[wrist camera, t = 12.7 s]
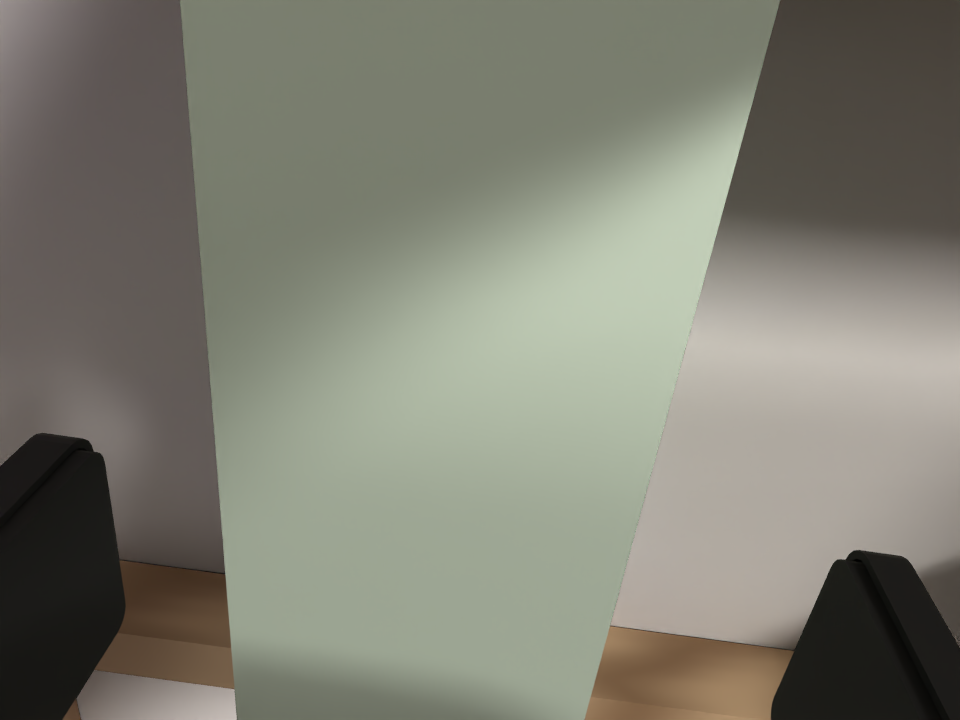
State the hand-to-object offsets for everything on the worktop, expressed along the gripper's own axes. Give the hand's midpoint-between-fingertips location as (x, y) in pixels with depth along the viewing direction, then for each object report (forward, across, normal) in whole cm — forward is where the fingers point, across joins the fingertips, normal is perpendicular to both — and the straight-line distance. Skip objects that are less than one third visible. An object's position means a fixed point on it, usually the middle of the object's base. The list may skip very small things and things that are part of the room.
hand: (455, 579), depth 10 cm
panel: (+8, 0, -1) cm, 8 cm away
